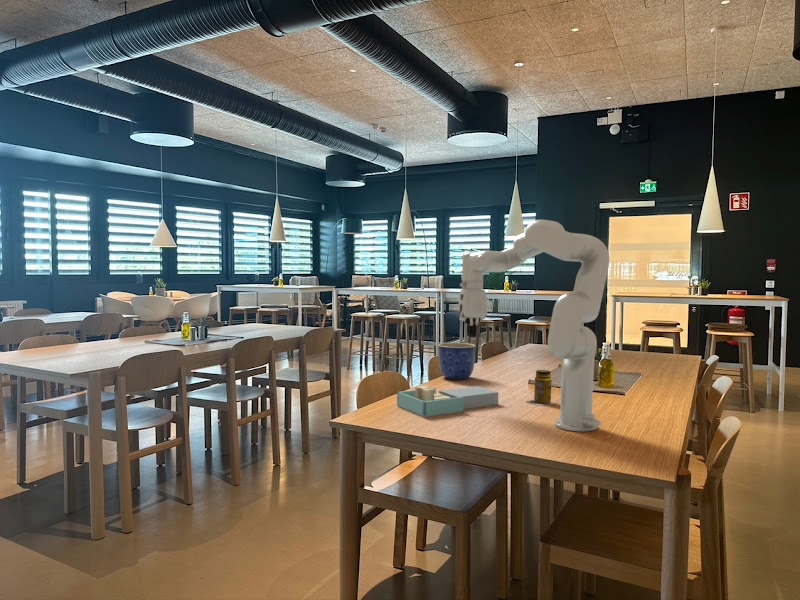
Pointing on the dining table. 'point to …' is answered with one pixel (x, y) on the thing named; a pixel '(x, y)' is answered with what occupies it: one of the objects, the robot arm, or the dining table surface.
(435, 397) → the tile
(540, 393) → the condiment
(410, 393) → the tray
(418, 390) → the tile
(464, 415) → the dining table surface
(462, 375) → the planter
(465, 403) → the grey rectangular block
